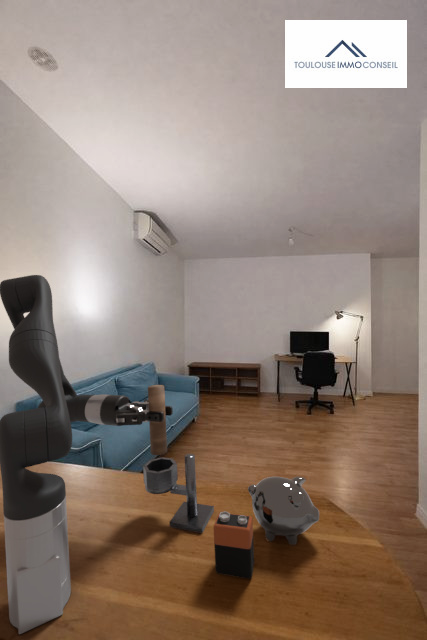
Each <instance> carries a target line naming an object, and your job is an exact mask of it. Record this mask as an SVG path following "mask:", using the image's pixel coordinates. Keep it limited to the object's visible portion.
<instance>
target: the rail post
mask: <svg viewBox="0 0 427 640" xmlns="http://www.w3.org/2000/svg"><path fill="white" fill-rule="evenodd" d="M165 394H166V393H165V385H164V384H153V385H149V386H147V397H148V398H147V399H148V404H149V411H158V412H163V413H164V421H162V422H155V421H148V422H149V423H148V424H149V444H150V447H149V448H150V454H151V455H153V456H161V455H162V456H163V455H165V454H166V453H167V452H168V439H167V438H168V437H167V417H166V416H167V415H166V412H165V406H166V395H165Z"/></svg>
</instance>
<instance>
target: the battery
mask: <svg viewBox="0 0 427 640" xmlns="http://www.w3.org/2000/svg"><path fill="white" fill-rule="evenodd" d="M253 524H254V523H253V517H252V516H251V515H245V514H244V515H243V514H239V513H238V514H236V513H230V512H228V511H221V512H218V514H217V516H216V518H215V521H214V524H213V542H214V563H215V564H214V565H215V573H216V574H219V575H225V576H229V577H230V576H231V577H237V578H242V579H247V580H251V579H252V577H253V572H254V567H255V550H254V549H255V547H254V546H255V545H254V527H253Z"/></svg>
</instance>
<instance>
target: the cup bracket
mask: <svg viewBox="0 0 427 640" xmlns="http://www.w3.org/2000/svg"><path fill="white" fill-rule="evenodd" d="M183 458H184V472H185V473H184V474H185V484H179V483H177V482H178V479H179V475H178V464H177V462H176V460H174V458H171V457H170V458H169V457H162V456H161V457H158V458H154V459H149V461H147V462H146V463H145V464H144V465H143V467H142V471H143V484H144V488H145V491H146V492H147V493H148V494H152V495H163V494H166V493H168V492H169V494H174V495H180V496H186V501H183V502H182V503H181V505H179V508H178V509H177V511H176V512H175V513H174V515H173V516H172V518H171V519H170V521H169V528H173V529H177V530H183V531H188V532H192V533H193V532H194V533H199V534H203V533H204V531H205V529H206V527H207V526H208V523H209V521H210V520H211V517H212V515H213V514H214V512H215V506H214V505H208V504H201V503H198V500H197V499H198V497H197V495H198V494H197V476H196V475H197V474H196V461H195V460H196V459H195V458H196V455H195V454H193V453H186V454H185V455H184V457H183Z"/></svg>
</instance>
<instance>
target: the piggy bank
mask: <svg viewBox="0 0 427 640" xmlns="http://www.w3.org/2000/svg"><path fill="white" fill-rule="evenodd" d="M305 482H306V478H305V477H303V476H294V477H293V478H291V479H290V478H288V477H282V476H268V477H266V478H263V479H262V480H260V481H259V482H257V484H250V485H249V486H247V487H248V488H247V491H248V493H249V495H250V496H251V504H252V505H251V506H252V511H253V513H254V516H255V519H256V520H257V523H258V524H259V525H260V527H262V528H263V530H264V531H265V539H266V541H268V542H273V541H274V540H275V539H276V536H283V537H285V538H286V540H287V543H288V544H289V545H291V546H295V545H296V544H297V542H298V535H301V534H303V533H305V532H306V531H307V530H309V528H311V527H312V526H313V525H314V524H316V523H317V522H319V520H320V510H319V509H318V508H317V507H316V506H315V505H314V503H313V502H312V499H311V498H310V495H309V494H308V493H307V491H306V489H305V488H303V486H302V485H303V484H304V483H305Z"/></svg>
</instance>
